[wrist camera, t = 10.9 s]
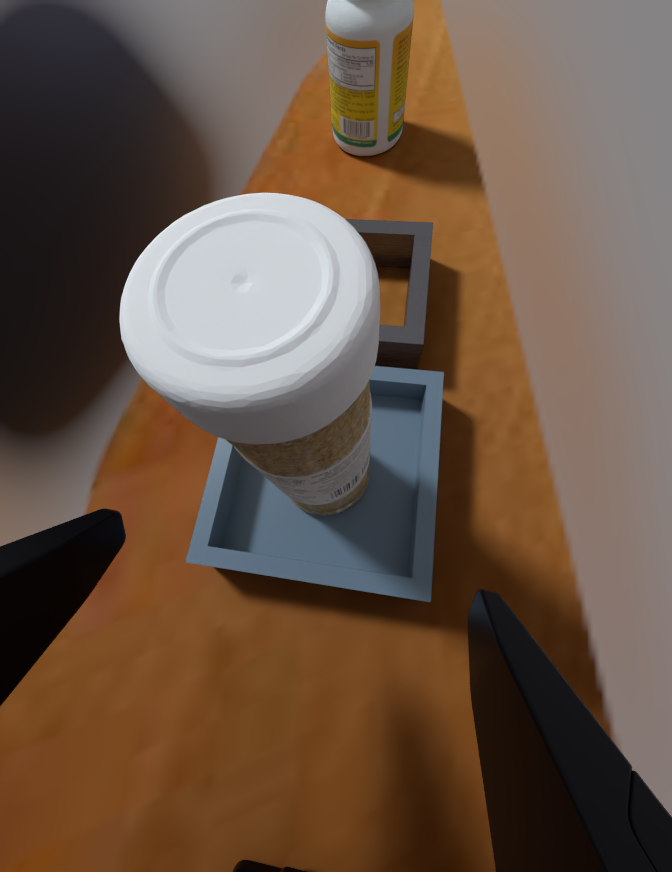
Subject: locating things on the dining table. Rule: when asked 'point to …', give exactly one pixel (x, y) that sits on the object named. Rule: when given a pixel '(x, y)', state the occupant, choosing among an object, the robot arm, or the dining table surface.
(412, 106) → the dining table surface
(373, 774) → the dining table surface
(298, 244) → the sprinkles bottle
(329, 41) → the supplement bottle
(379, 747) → the dining table surface
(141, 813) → the dining table surface
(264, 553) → the tray
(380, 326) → the bottle holder
